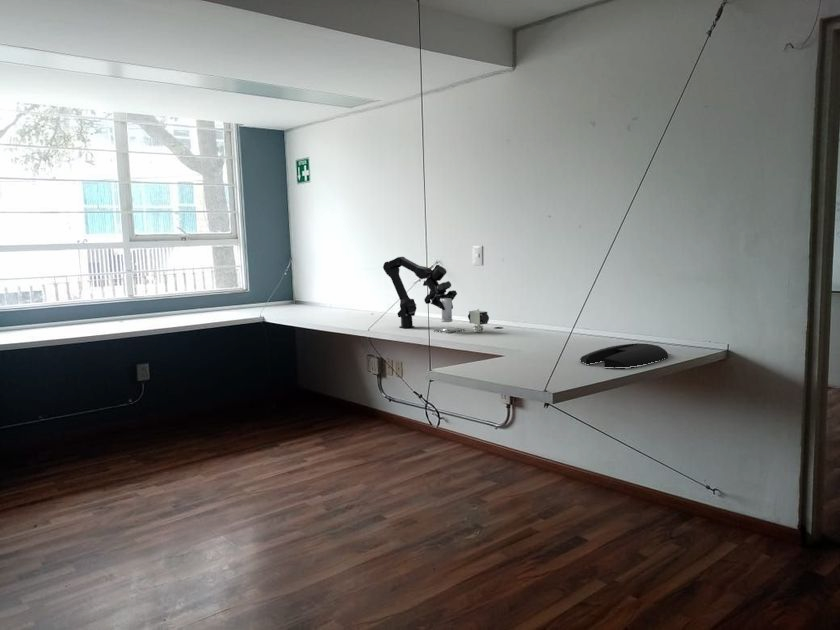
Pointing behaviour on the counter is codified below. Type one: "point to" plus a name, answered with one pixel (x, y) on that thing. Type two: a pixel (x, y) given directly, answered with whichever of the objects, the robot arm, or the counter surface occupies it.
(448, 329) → the flange plate
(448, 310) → the grey cylinder
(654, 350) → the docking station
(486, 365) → the counter surface
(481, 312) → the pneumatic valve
